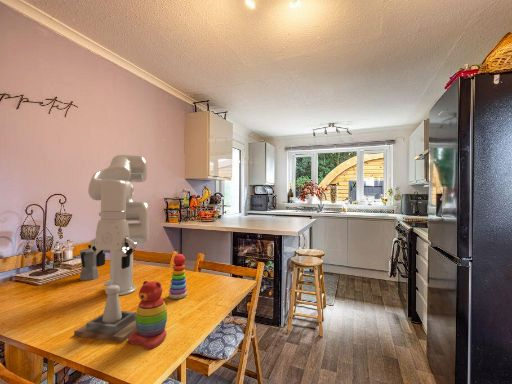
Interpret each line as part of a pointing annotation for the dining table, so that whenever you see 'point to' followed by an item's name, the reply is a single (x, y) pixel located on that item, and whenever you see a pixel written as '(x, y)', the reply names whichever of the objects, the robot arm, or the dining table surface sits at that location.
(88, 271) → the coffeepot
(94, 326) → the stand
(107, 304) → the salt shaker
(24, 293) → the dining table surface
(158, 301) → the stacking bear
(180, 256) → the stacking toy
